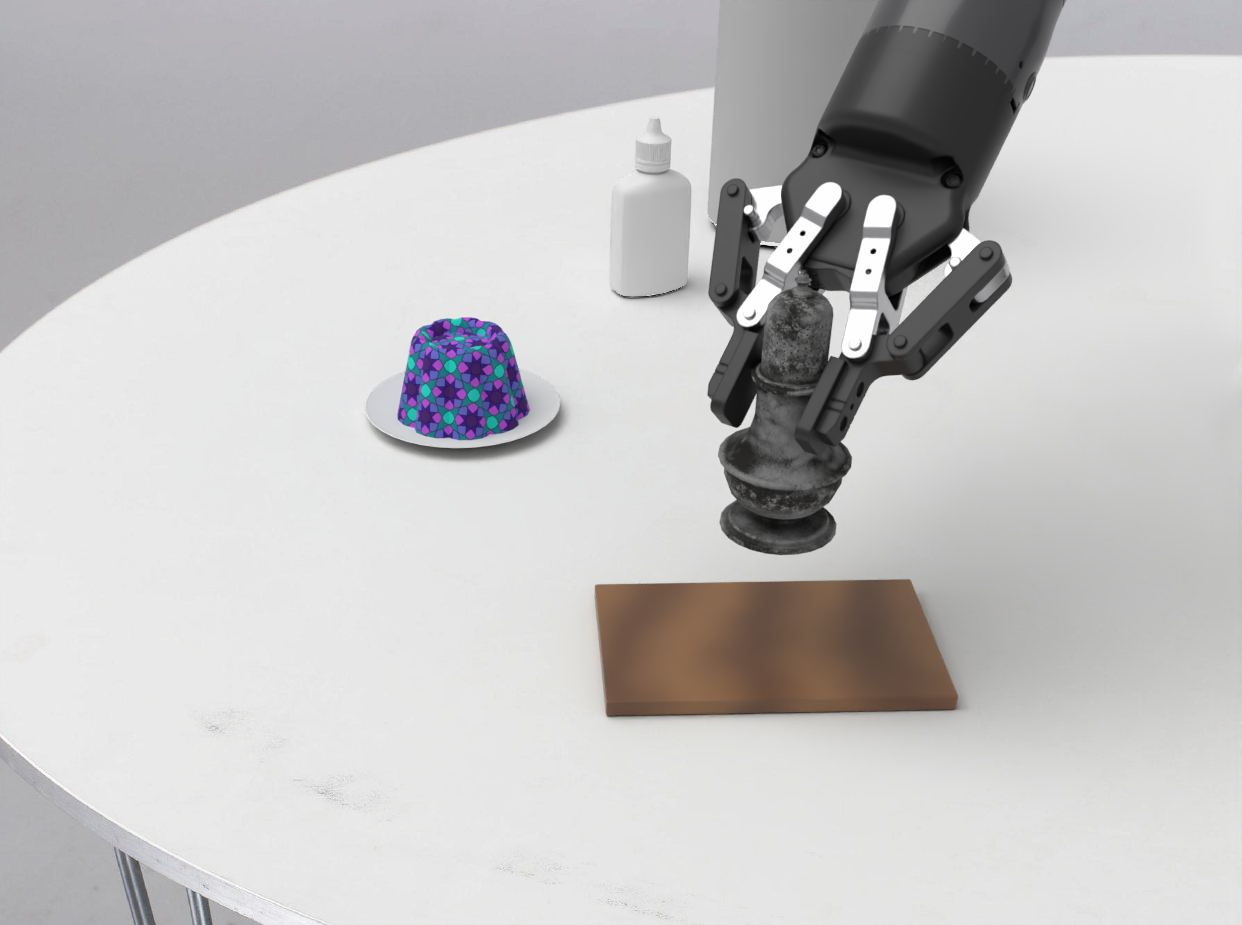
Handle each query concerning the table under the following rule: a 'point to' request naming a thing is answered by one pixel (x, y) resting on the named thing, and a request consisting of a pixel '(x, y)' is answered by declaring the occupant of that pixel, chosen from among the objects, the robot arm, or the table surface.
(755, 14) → the cylinder vase
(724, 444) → the salt shaker
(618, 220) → the eye dropper bottle
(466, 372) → the pudding
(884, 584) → the wooden board
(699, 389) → the table surface
